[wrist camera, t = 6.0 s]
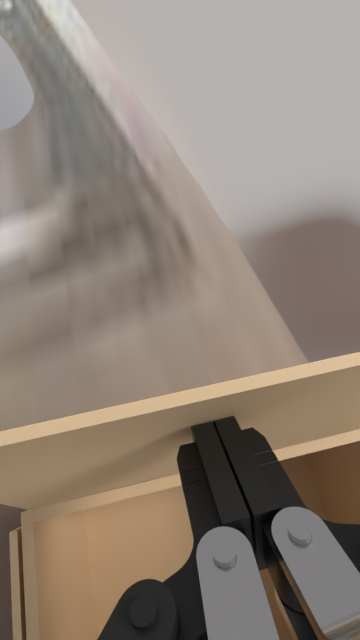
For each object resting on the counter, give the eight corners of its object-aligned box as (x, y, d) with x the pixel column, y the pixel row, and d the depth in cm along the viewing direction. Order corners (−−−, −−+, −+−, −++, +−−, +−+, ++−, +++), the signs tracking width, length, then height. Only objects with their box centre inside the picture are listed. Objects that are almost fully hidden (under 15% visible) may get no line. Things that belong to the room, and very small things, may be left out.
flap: (364, 417, 19) (500, 317, 10) (368, 426, 18) (512, 330, 10) (28, 499, 17) (-128, 456, 9) (28, 509, 17) (-134, 476, 8)
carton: (310, 430, 30) (384, 422, 19) (380, 635, 25) (530, 771, 14) (68, 489, 27) (6, 515, 17) (90, 725, 22) (22, 962, 12)
